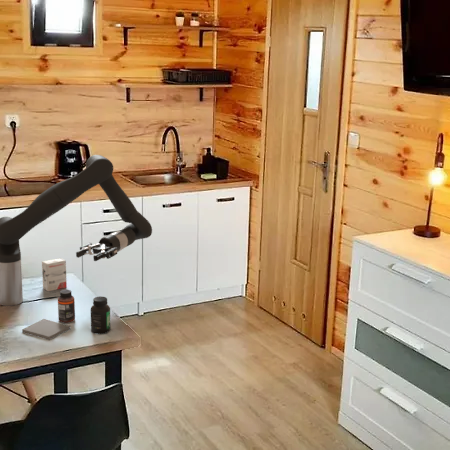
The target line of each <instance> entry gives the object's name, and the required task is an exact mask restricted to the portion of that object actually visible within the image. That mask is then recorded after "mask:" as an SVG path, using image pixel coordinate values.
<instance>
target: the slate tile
mask: <svg viewBox="0 0 450 450" xmlns="http://www.w3.org/2000/svg"><path fill="white" fill-rule="evenodd" d="M69 330H71V325H68V324H66V323H62V322H57V321H54V320H48V319H47V318H43V319H40V320H39V321H36V322H35V323H32V324H30V325H29V326H27V327H24V328H22V329H21V331H22V333H23V334H26V335H31V336H34V337H36V338H40V339H45V340H48V341H50V340H52V339H54V338H56V337H58V336H60V335H62V334H64V333H65V332H67V331H69Z"/></svg>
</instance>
